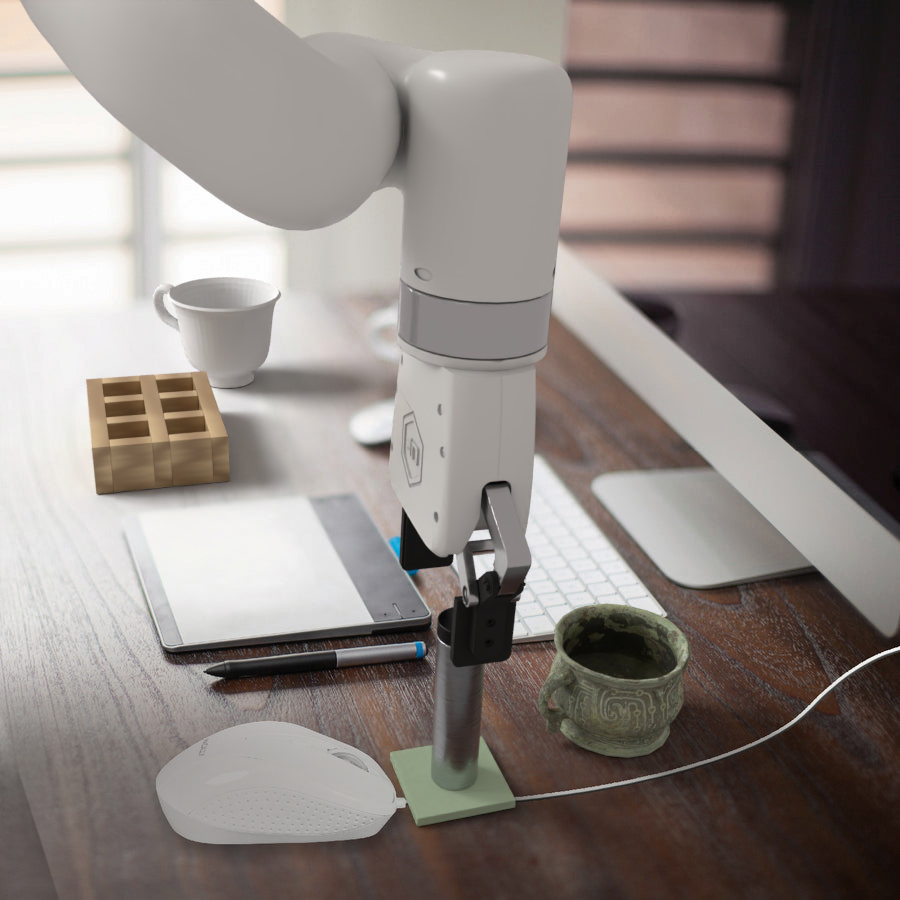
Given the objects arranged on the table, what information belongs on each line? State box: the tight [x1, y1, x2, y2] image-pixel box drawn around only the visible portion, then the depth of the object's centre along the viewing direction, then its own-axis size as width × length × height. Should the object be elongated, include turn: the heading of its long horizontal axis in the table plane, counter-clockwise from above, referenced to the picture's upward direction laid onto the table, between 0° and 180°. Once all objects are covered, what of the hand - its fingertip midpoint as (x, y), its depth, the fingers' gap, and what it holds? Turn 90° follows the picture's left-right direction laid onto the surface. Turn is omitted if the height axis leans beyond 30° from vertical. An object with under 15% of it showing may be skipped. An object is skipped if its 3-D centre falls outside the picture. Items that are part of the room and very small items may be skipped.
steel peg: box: [431, 606, 486, 791], centre depth 66 cm, size 3×3×11 cm
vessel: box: [537, 602, 692, 759], centre depth 73 cm, size 12×9×6 cm
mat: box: [389, 735, 517, 827], centre depth 68 cm, size 6×6×1 cm
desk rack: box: [85, 370, 231, 495], centre depth 108 cm, size 12×17×4 cm
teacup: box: [152, 276, 282, 389], centre depth 125 cm, size 12×15×10 cm
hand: (451, 610), depth 63 cm, fingers open, 9 cm apart
